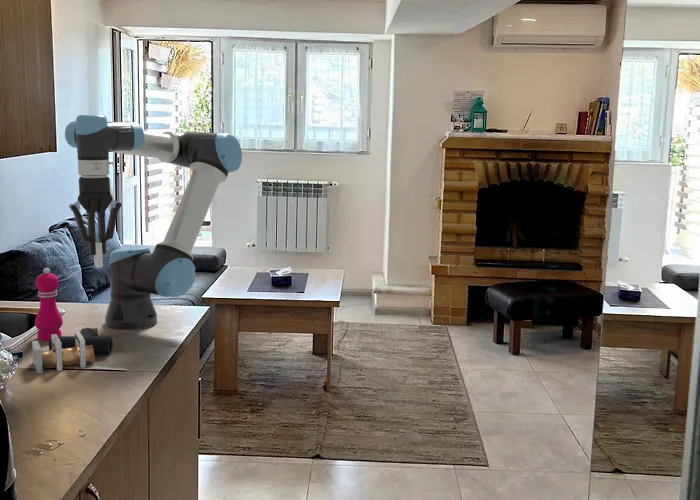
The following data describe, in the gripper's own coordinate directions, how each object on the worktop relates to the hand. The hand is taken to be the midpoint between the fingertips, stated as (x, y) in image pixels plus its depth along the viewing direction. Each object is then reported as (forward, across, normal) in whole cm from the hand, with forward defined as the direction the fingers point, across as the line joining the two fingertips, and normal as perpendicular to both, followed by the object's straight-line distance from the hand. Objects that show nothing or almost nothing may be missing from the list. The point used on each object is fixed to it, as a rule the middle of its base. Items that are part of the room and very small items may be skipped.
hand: (98, 266), depth 193 cm
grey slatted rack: (+23, -12, -7) cm, 27 cm away
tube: (+23, -10, -7) cm, 26 cm away
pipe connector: (+24, -4, +3) cm, 24 cm away
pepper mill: (+23, -10, +19) cm, 31 cm away
